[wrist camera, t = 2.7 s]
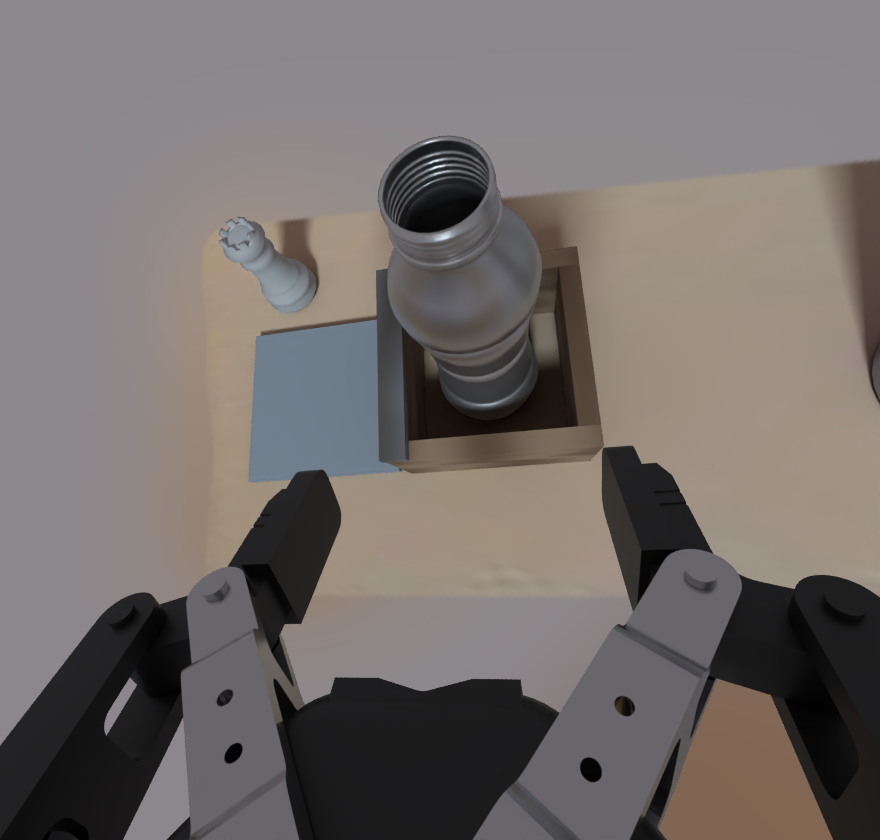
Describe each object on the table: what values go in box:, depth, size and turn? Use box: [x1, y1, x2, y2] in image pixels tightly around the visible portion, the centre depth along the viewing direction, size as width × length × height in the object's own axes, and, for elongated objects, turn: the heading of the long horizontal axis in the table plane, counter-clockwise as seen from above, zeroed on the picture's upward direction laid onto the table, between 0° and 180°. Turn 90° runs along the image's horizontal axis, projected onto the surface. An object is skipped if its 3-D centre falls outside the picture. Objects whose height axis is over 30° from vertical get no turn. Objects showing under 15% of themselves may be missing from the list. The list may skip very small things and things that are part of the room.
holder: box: [376, 246, 604, 473], centre depth 29 cm, size 13×12×7 cm
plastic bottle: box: [378, 136, 542, 420], centre depth 23 cm, size 6×7×20 cm
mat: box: [249, 320, 402, 482], centre depth 35 cm, size 12×12×1 cm
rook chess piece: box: [219, 217, 317, 313], centre depth 34 cm, size 4×4×8 cm
